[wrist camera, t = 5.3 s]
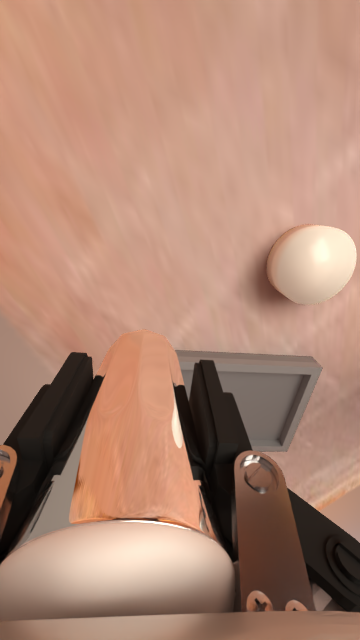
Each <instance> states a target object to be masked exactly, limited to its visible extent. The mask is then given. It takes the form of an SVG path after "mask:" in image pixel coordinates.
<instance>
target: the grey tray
mask: <svg viewBox="0 0 360 640" xmlns="http://www.w3.org/2000/svg"><path fill="white" fill-rule="evenodd" d="M175 351H176V354H177V357H178V361H179V365H180V369H181V373H182V377H183V381H184V385H185V389H186V393H187V397H188V401H189V397H190V390H191V384H192V377H193V370H194V364H195V363H199V361H200V359H202V360H213V361H214V363H215V367H216V370H217V373H218V377H219V380H220V383H221V386H222V390H223V392H231V393H232V394H233V396H234V398H235V401H236V404H237V407H238V410H239V412H240V415H241V418H242V421H243V424H244V427H245V429H246V432H247V435H248V438H249V441H250V444H251V447H252V449H253V451H258V452H287V451H288V448H289V446H290V444H291V441H292V439H293V437H294V434H295V432H296V430H297V427H298V425H299V422H300V420H301V418H302V415H303V413H304V411H305V408H306V406H307V404H308V401H309V399H310V397H311V394H312V392H313V390H314V387H315V385H316V383H317V380H318V378H319V375H320V373H321V371H322V367H321V366H320V365H319V364H318V362H317V361H316V360H315V359H314V358H313V357H306V356H285V355H264V354H243V353H223V352H202V351H181V350H175Z"/></svg>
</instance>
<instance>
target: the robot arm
mask: <svg viewBox="0 0 360 640" xmlns="http://www.w3.org/2000/svg"><path fill="white" fill-rule="evenodd" d="M92 382H93V368H92V358H91V357H88V356H87V353H77V352H72V353H70V355H69V356H68V358H67V360H66V361H65V363H64V364H63V366H62V367H61V369H60V371H59V372H58V374H57V375H56V377H55V378H54V380H53V382H52V383H51V385H48V384H45V385H44V386H43V387H42V388H41V389H40V390H39V392H38V394H37V395H36V396H35V398H34V399H33V401H32V403H31V404H30V406H29V407H28V408H27V410H26V411H25V413H24V414H23V416H22V417H21V419H20V420H19V422H18V423H17V425H16V426H15V428H14V429H13V431H12V432H11V434H10V435H9V437H8V438H7V439H6V441H5V442H4V444H3V445H0V561H1V559H2V557H3V555H4V553H5V552H6V550H7V548H8V546H9V544H10V542H11V540H12V538H13V536H14V534H15V533H16V531H17V529H18V527H19V525H20V523H21V521H22V519H23V517H24V515H25V514H26V512H27V510H28V508H29V506H30V504H31V502H32V500H33V498H34V497H35V495H36V493H37V491H38V489H39V487H40V485H41V483H42V481H43V479H44V478H45V476H46V474H47V472H48V470H49V468H50V466H51V464H52V462H53V460H54V459H55V457H56V455H57V453H58V451H59V449H60V447H61V445H62V443H63V441H64V439H65V437H66V435H67V433H68V431H69V429H70V427H71V425H72V423H73V421H74V419H75V417H76V415H77V413H78V411H79V409H80V406H81V404H82V402H83V400H84V398H85V396H86V394H87V392H88V390H89V388H90V386H91V384H92ZM189 405H190V409H191V413H192V417H193V421H194V425H195V429H196V433H197V438H198V441H199V445H200V449H201V453H202V456H203V460H204V463H205V467H206V471H207V474H208V478H209V481H210V485H211V488H212V492H213V495H214V499H215V502H216V506H217V509H218V513H219V516H220V520H221V524H222V527H223V531H224V534H225V538H226V541H227V545H228V548H229V552H230V556H231V560H232V563H233V566H234V569H235V592H236V596H235V598H234V606H233V613H205V614H174V615H147V616H121V617H94V618H69V619H43V620H20V621H0V640H360V543H359V542H358V541H357V540H356V539H355V538H353V537H352V536H351V535H349V534H348V533H347V532H345V531H344V530H343V529H341V528H340V527H339V526H337V525H336V524H335V523H333V522H332V521H331V520H329V519H328V518H327V517H325V516H324V515H322V514H321V513H320V512H319V511H317V510H316V509H315V508H313V507H312V506H311V505H309V504H308V503H307V502H305V501H304V500H303V499H301V498H300V497H299V496H297V495H296V494H295V493H293V492H292V491H291V490H290V489H288V488H287V486H286V482H285V478H284V475H283V473H282V470H281V469H280V467H279V466H278V465H277V463H276V462H275V461H274V460H272V459H271V458H270V457H269V456H267V455H265V454H264V453H261V452H258V451H253V449H252V447H251V444H250V441H249V438H248V435H247V432H246V429H245V427H244V424H243V421H242V418H241V415H240V412H239V410H238V407H237V404H236V401H235V398H234V396H233V394H232V393H231V392H223V390H222V386H221V383H220V380H219V377H218V373H217V370H216V367H215V363H214V361H213V360H202V359H200V361H199V363H195V364H194V370H193V377H192V384H191V390H190V397H189Z"/></svg>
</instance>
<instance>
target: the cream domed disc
mask: <svg viewBox="0 0 360 640" xmlns="http://www.w3.org/2000/svg"><path fill="white" fill-rule="evenodd" d="M356 257H357V255H356V247H355V245H354V242H353V240H352V239H351V237H350V236H349V235H348V234H347V233H346V232H344V231H342V230H340V229H338V228H333V227H327V226H320V225H313V224H306V225H300V226H297V227H294V228H292V229H290V230H289V231H287V232H286V233H284V234H283V235H282V236H281V237H280V238H279V239H278V240H277V241H276V243H275V244H274V245H273V247H272V249H271V251H270V253H269V256H268V259H267V266H266V270H267V276H268V279H269V281H270V283H271V285H272V286H273V287H274V288H275V289H276V290H278V291H279V292H280V293H282V294H283V295H284V296H285V297H287V298H288V299H290V300H291V301H293V302H295V303H297V304H301V305H314V304H319V303H322V302H324V301H326V300H328V299H330V298H332V297H333V296H335V295H336V294H337V293H338V292H339V291H341V290H342V288H343V287H344V286H345V285H346V284H347V282H348V281H349V279H350V278H351V276H352V274H353V271H354V268H355V265H356Z"/></svg>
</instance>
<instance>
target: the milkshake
mask: <svg viewBox="0 0 360 640" xmlns="http://www.w3.org/2000/svg"><path fill="white" fill-rule="evenodd" d="M235 596H236V592H235V569H234V566H233V563H232V560H231V556H230V552H229V548H228V545H227V541H226V538H225V534H224V531H223V527H222V524H221V520H220V516H219V513H218V509H217V506H216V502H215V499H214V495H213V492H212V488H211V485H210V481H209V478H208V474H207V471H206V467H205V463H204V460H203V456H202V453H201V449H200V445H199V441H198V438H197V433H196V429H195V425H194V421H193V417H192V413H191V409H190V405H189V401H188V397H187V393H186V389H185V385H184V381H183V377H182V373H181V369H180V365H179V361H178V357H177V354H176V351H175V350H174V348H173V347H172V346H171V344H170V343H169V341H168V340H167V338H166V337H165V336H163V335H160V334H157V333H154V332H152V331H149V330H146V329H142V330H137V331H133V332H128V333H123V334H122V335H121V336H120V337H119V338H118V339H117V340H116V342H115V343H114V344H113V345H112V346H111V347H110V348H109V350H108V351H107V353H106V355H105V357H104V359H103V362H102V364H101V366H100V368H99V370H98V372H97V374H96V376H95V378H94V380H93V382H92V384H91V386H90V388H89V390H88V392H87V394H86V396H85V398H84V400H83V402H82V404H81V406H80V409H79V411H78V413H77V415H76V417H75V419H74V421H73V423H72V425H71V427H70V429H69V431H68V433H67V435H66V437H65V439H64V441H63V443H62V445H61V447H60V449H59V451H58V453H57V455H56V457H55V459H54V460H53V462H52V464H51V466H50V468H49V470H48V472H47V474H46V476H45V478H44V479H43V481H42V483H41V485H40V487H39V489H38V491H37V493H36V495H35V497H34V498H33V500H32V502H31V504H30V506H29V508H28V510H27V512H26V514H25V515H24V517H23V519H22V521H21V523H20V525H19V527H18V529H17V531H16V533H15V534H14V536H13V538H12V540H11V542H10V544H9V546H8V548H7V550H6V552H5V553H4V555H3V557H2V559H1V561H0V621H20V620H43V619H69V618H94V617H121V616H147V615H174V614H205V613H233V606H234V598H235Z"/></svg>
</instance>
